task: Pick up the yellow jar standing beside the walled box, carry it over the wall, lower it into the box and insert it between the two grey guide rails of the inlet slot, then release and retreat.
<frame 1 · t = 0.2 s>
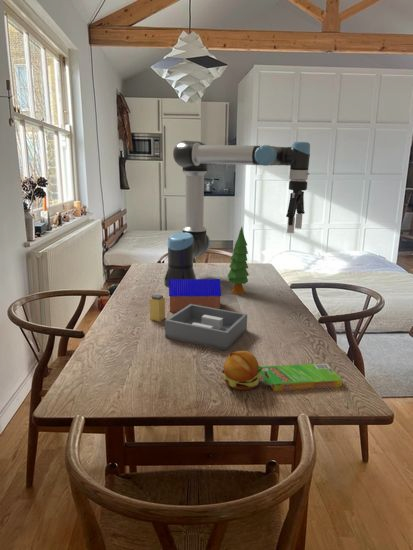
hand: (294, 230, 180), 28 cm above the table, fingers open, 13 cm apart
decorative tree: (236, 292, 186), on the table
game box: (298, 381, 113), on the table
yellow jar: (157, 318, 153), on the table
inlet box: (206, 333, 141), on the table
cheeseburger: (241, 384, 110), on the table
house: (194, 307, 167), on the table
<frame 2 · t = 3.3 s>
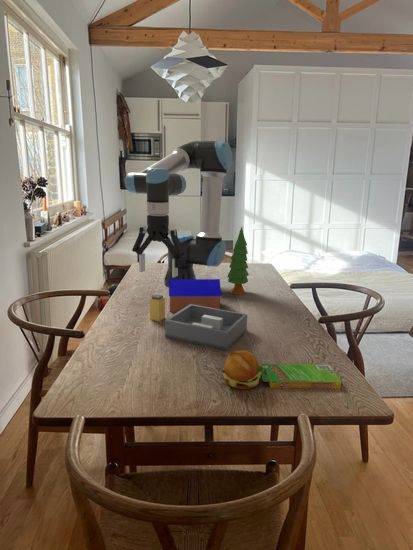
hand: (158, 274, 149), 17 cm above the table, fingers open, 13 cm apart
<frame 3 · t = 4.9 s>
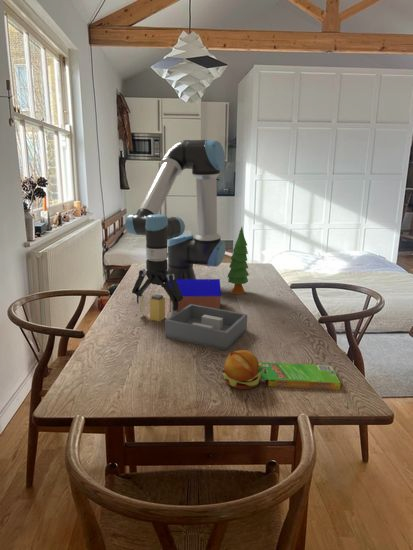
hand: (157, 315, 153), 1 cm above the table, fingers open, 13 cm apart
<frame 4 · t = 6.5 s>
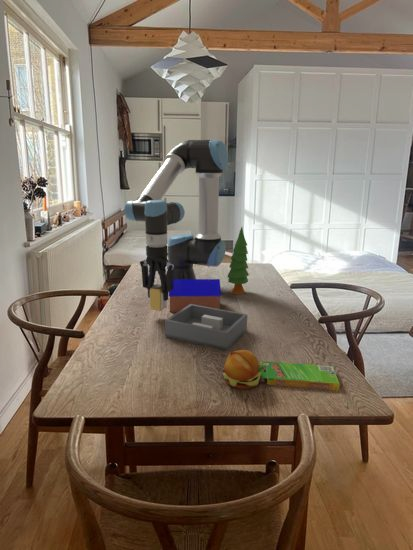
hand: (158, 307, 153), 4 cm above the table, fingers closed on yellow jar, 4 cm apart
yellow jar: (158, 308, 153), point 4 cm above the table, touching gripper
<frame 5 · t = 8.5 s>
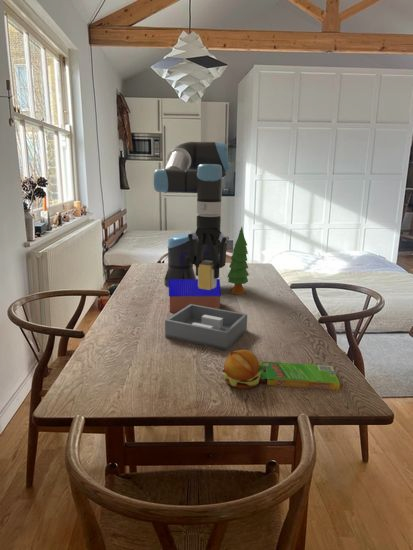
hand: (207, 286, 136), 17 cm above the table, fingers closed on yellow jar, 4 cm apart
yellow jar: (206, 287, 136), point 16 cm above the table, touching gripper
everything else where it was.
when the fingers open (2 cm above the table, at t = 10.7 s): yellow jar stays where it is, resting on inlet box.
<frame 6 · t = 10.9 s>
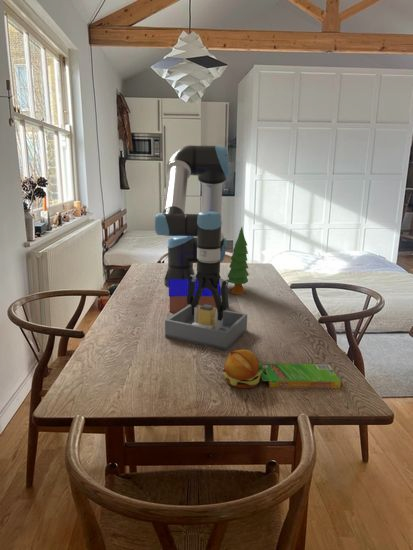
hand: (207, 326, 140), 3 cm above the table, fingers open, 7 cm apart
yellow jar: (206, 330, 140), point 1 cm above the table, touching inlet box
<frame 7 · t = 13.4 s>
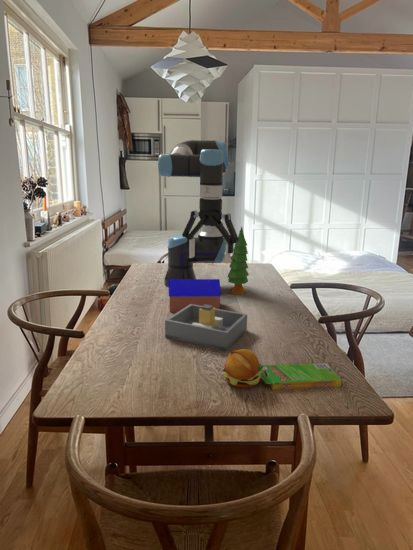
hand: (209, 259, 144), 23 cm above the table, fingers open, 13 cm apart
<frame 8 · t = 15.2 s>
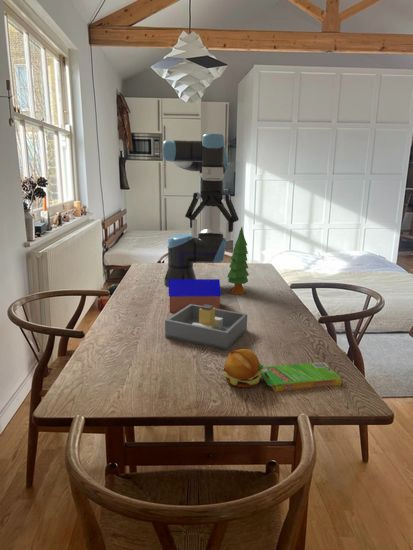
hand: (210, 238, 153), 29 cm above the table, fingers open, 13 cm apart
at the end: yellow jar 0.2 cm off-centre on the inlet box, point 1.1 cm above the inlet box's base; yellow jar tilted 0°; the gripper is holding nothing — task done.
